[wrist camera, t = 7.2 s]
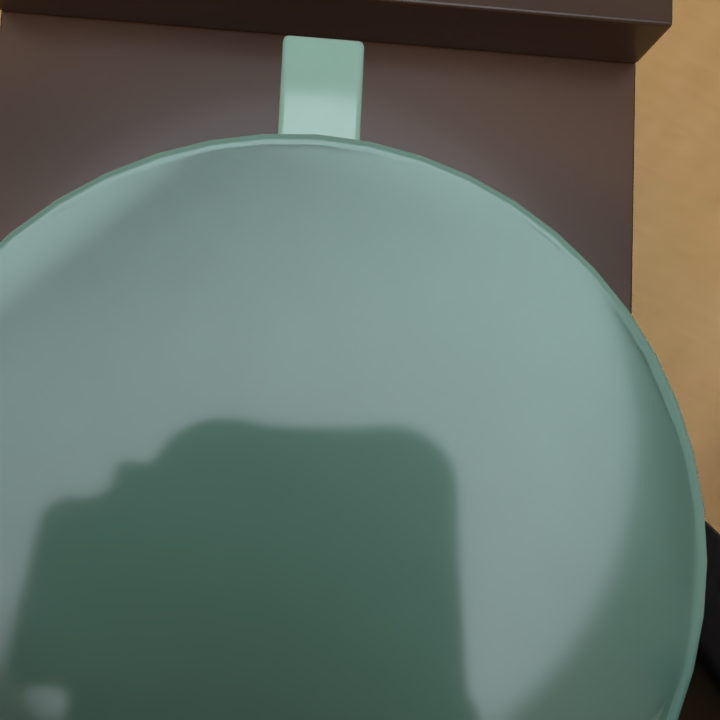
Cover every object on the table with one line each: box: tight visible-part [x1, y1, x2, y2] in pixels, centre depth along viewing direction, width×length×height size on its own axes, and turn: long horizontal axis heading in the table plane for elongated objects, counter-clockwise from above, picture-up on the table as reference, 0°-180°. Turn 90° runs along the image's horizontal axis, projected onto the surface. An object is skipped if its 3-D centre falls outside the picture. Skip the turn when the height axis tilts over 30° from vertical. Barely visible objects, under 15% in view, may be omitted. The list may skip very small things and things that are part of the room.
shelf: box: [0, 0, 672, 314], centre depth 19 cm, size 11×18×5 cm, turn 87°
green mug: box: [0, 35, 707, 720], centre depth 9 cm, size 8×6×9 cm
